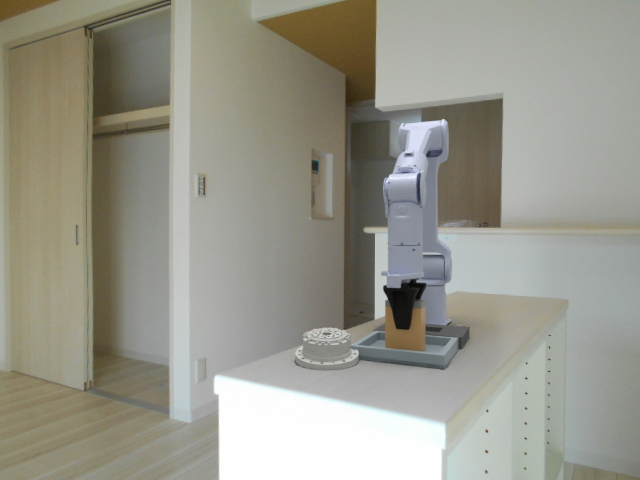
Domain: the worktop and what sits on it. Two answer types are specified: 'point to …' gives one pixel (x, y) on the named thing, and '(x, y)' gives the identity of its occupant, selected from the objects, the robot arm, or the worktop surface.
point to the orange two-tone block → (406, 338)
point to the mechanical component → (326, 350)
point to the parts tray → (408, 351)
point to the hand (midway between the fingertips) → (405, 327)
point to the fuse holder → (443, 332)
